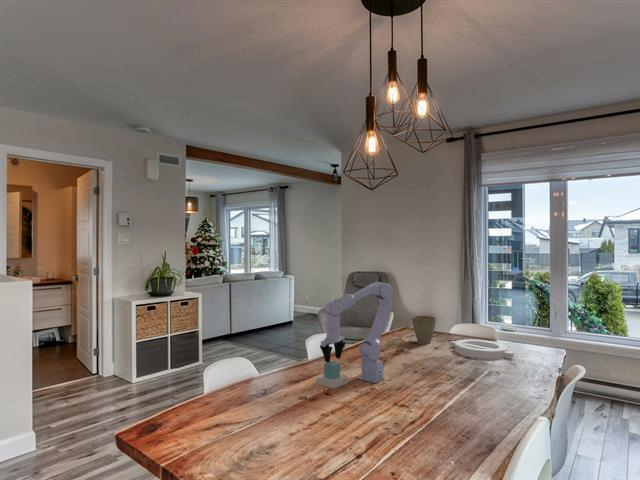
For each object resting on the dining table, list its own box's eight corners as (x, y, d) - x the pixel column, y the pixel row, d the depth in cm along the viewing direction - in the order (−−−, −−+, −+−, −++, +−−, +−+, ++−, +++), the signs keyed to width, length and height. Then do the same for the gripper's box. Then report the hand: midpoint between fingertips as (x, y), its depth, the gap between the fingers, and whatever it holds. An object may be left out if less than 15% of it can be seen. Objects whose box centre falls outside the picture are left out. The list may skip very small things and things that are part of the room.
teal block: (339, 376, 173) (340, 363, 173) (333, 379, 169) (333, 365, 169) (330, 374, 176) (331, 361, 176) (324, 377, 172) (324, 363, 172)
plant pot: (421, 339, 260) (421, 314, 260) (440, 343, 249) (440, 317, 249) (406, 342, 251) (407, 317, 251) (426, 346, 239) (426, 320, 240)
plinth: (348, 382, 173) (348, 376, 173) (334, 388, 165) (334, 382, 166) (330, 377, 180) (330, 372, 180) (316, 383, 172) (316, 377, 172)
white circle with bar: (448, 346, 242) (448, 338, 242) (495, 347, 241) (495, 339, 241) (463, 359, 214) (463, 350, 214) (516, 360, 213) (516, 351, 213)
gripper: (335, 325, 182) (335, 355, 181) (315, 330, 170) (315, 361, 170) (348, 327, 177) (348, 357, 177) (328, 332, 166) (327, 365, 166)
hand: (332, 360), depth 173 cm, fingers open, 7 cm apart
